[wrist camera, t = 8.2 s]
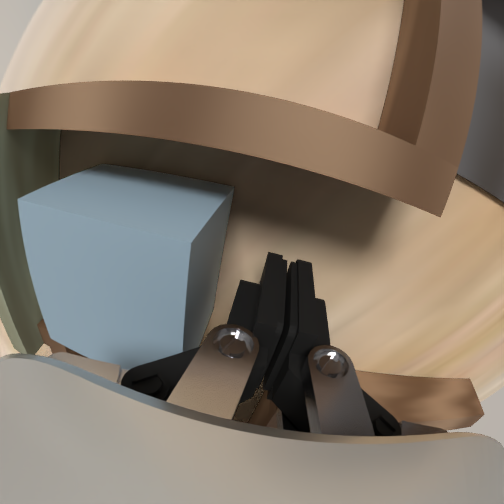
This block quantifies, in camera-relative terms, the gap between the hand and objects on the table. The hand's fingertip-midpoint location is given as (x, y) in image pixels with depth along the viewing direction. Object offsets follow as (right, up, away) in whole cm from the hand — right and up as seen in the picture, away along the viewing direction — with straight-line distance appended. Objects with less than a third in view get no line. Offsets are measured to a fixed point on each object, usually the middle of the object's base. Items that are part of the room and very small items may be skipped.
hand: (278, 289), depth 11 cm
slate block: (-5, +2, +1) cm, 6 cm away
